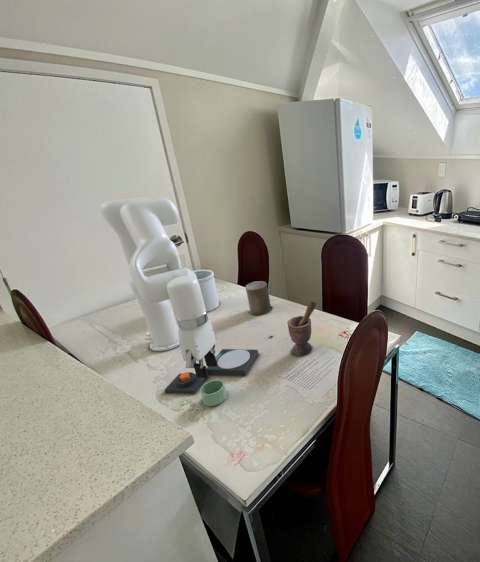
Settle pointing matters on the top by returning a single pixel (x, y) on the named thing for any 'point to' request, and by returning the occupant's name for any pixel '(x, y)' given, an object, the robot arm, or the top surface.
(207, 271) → the utensil holder
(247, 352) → the scale
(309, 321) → the mortar and pestle
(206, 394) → the bowl
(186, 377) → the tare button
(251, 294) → the pillar candle
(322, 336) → the top surface
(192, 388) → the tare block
